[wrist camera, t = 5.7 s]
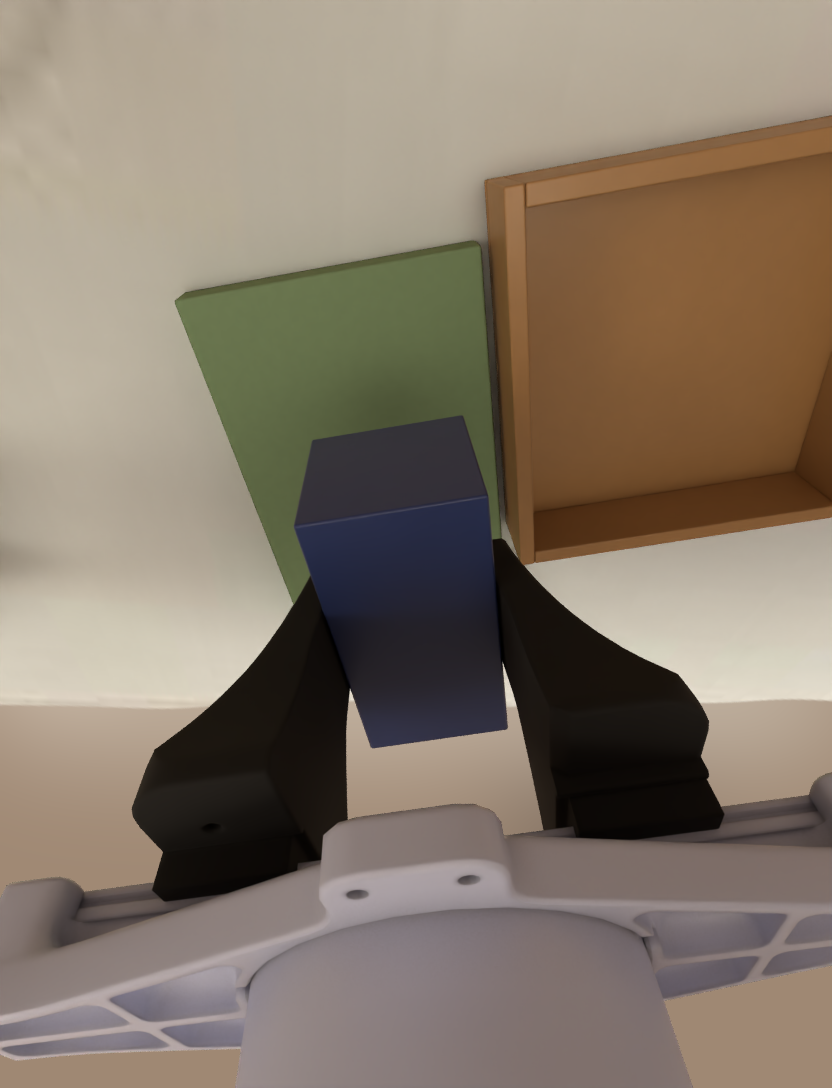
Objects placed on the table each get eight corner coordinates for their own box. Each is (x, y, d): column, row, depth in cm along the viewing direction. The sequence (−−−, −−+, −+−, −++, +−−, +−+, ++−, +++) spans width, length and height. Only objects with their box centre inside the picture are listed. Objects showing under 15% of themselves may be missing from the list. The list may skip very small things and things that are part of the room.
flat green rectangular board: (475, 239, 18) (481, 245, 17) (502, 593, 28) (506, 610, 27) (183, 292, 18) (172, 300, 17) (309, 623, 28) (306, 640, 27)
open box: (916, 99, 16) (1016, 92, 14) (799, 476, 24) (848, 515, 22) (484, 179, 17) (503, 186, 14) (505, 522, 25) (520, 565, 22)
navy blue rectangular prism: (463, 414, 14) (488, 495, 11) (486, 629, 19) (508, 730, 16) (311, 439, 14) (292, 526, 11) (372, 646, 19) (371, 749, 16)
